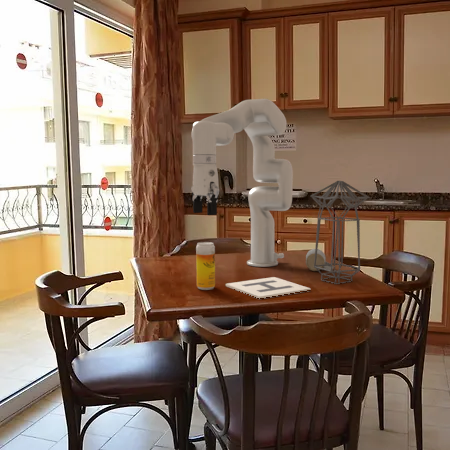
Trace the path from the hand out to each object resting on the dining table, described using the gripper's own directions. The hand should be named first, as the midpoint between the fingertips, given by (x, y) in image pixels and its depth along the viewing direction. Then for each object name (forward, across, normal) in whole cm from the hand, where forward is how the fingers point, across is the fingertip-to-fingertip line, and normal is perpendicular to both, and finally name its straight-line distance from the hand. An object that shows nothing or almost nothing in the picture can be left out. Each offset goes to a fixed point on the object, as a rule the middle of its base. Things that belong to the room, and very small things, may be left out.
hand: (204, 213), depth 171 cm
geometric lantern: (+25, -14, -45) cm, 53 cm away
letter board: (+25, -11, -17) cm, 32 cm away
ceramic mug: (+24, +4, -52) cm, 57 cm away
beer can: (+25, 0, 0) cm, 25 cm away
